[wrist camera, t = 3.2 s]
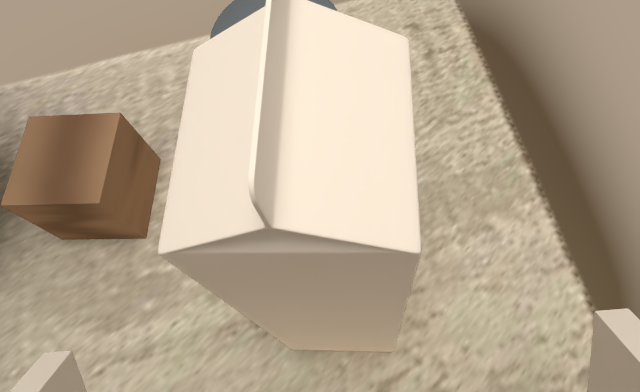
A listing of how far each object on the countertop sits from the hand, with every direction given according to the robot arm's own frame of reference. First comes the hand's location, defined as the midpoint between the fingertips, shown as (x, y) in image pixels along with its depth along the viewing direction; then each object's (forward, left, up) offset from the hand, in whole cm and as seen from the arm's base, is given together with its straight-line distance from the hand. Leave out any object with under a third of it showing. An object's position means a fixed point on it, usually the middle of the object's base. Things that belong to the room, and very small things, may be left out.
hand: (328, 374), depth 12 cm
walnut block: (-20, +8, -16) cm, 26 cm away
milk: (-2, +5, -16) cm, 17 cm away
